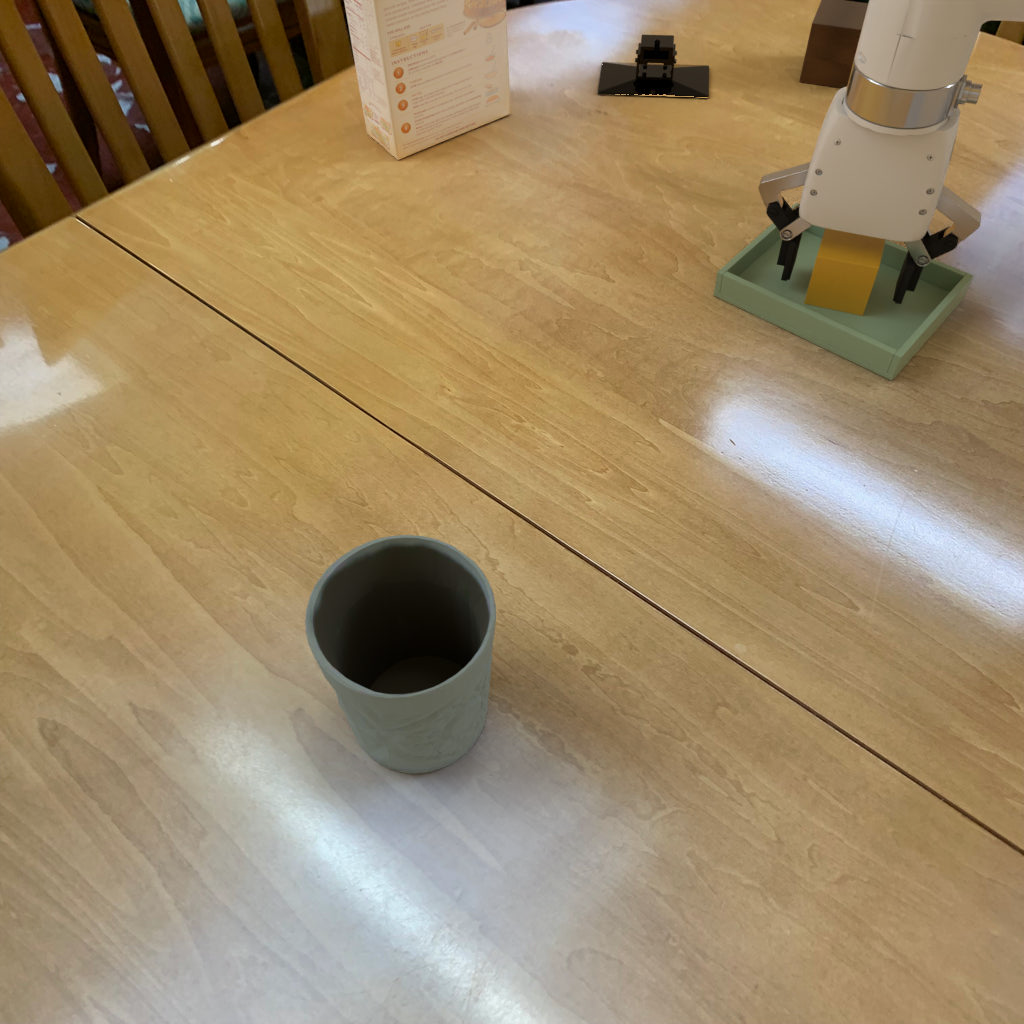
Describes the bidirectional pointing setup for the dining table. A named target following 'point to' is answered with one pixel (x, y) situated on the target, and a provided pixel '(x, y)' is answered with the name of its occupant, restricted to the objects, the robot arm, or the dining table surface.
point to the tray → (860, 339)
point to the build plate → (654, 72)
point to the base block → (833, 43)
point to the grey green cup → (406, 648)
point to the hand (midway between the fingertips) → (842, 282)
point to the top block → (844, 271)
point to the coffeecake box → (429, 68)
